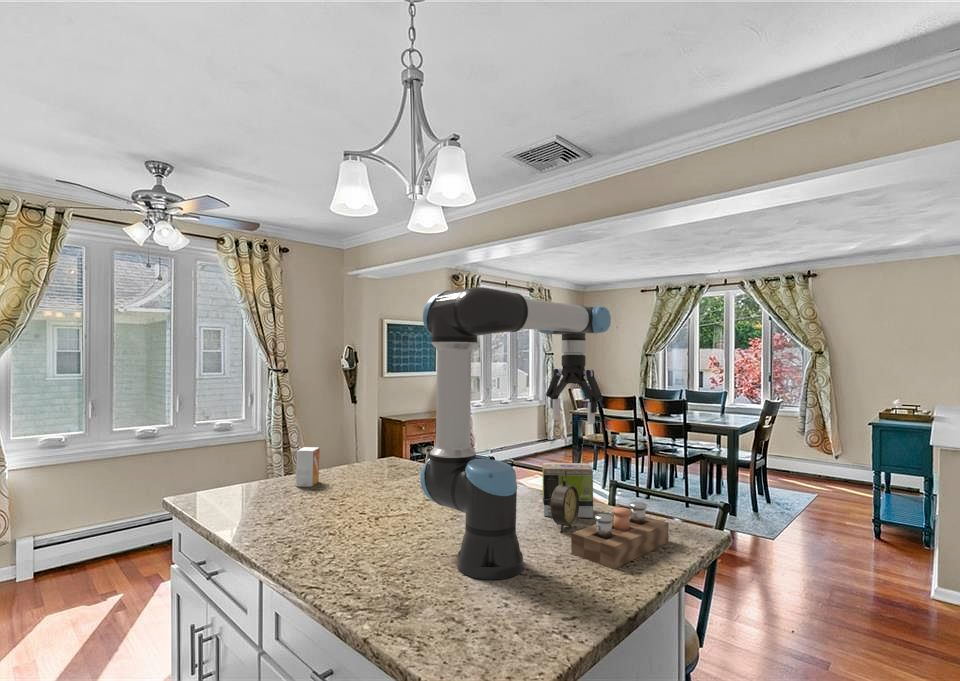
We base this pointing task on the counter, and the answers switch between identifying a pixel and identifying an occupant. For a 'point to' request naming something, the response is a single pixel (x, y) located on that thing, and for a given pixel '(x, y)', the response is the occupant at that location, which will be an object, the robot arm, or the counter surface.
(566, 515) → the alarm clock
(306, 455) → the small box
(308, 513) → the counter surface
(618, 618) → the counter surface
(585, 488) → the tea box
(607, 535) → the grey plug near
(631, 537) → the walnut block
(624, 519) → the terracotta plug
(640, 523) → the grey plug far
